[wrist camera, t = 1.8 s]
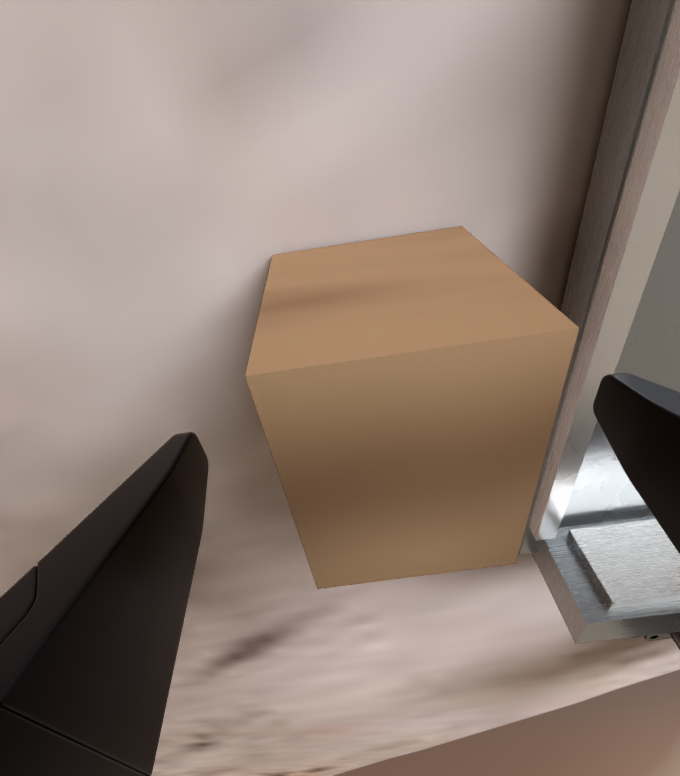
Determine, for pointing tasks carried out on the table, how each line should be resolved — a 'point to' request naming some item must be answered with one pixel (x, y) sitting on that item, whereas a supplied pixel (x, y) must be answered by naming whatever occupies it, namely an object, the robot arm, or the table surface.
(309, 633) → the table surface
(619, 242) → the base
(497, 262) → the block
